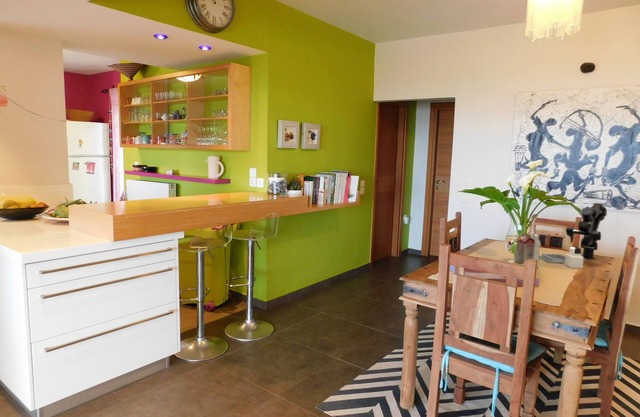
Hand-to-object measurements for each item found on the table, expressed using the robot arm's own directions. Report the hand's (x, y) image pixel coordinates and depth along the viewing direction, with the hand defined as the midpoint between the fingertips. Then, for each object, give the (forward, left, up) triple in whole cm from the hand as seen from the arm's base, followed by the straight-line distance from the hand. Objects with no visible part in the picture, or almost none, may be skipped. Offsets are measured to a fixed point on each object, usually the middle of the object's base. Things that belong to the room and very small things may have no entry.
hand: (579, 244), depth 263 cm
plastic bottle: (+11, -32, -13) cm, 37 cm away
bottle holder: (-7, -9, -13) cm, 17 cm away
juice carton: (+21, -42, -13) cm, 49 cm away
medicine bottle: (+6, -5, -13) cm, 15 cm away
